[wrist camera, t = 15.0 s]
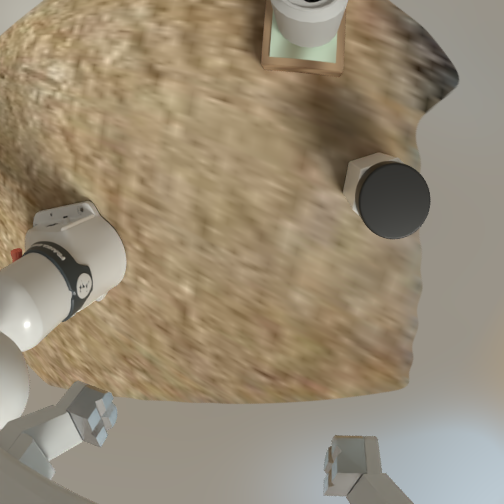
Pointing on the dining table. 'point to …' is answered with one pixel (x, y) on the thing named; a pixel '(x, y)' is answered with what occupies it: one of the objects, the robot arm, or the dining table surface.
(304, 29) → the can
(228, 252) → the dining table surface
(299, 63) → the picture frame
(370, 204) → the jar
